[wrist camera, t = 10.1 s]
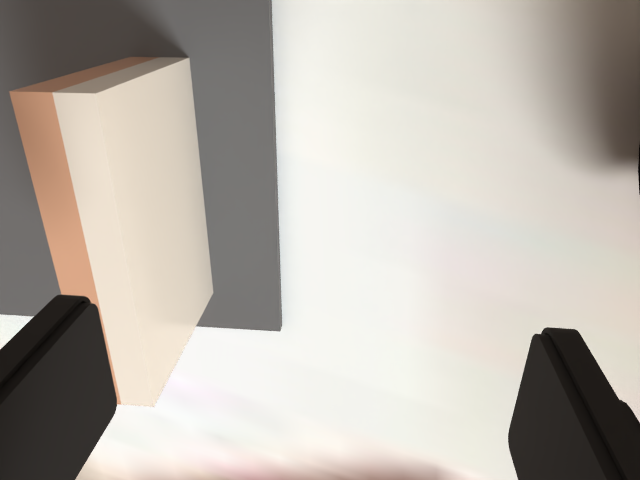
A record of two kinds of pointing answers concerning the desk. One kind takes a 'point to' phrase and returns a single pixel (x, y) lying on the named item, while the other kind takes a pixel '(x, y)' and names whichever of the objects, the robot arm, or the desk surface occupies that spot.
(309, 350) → the desk surface
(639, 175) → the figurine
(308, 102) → the desk surface
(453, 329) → the desk surface
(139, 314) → the block
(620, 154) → the desk surface
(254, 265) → the mat
